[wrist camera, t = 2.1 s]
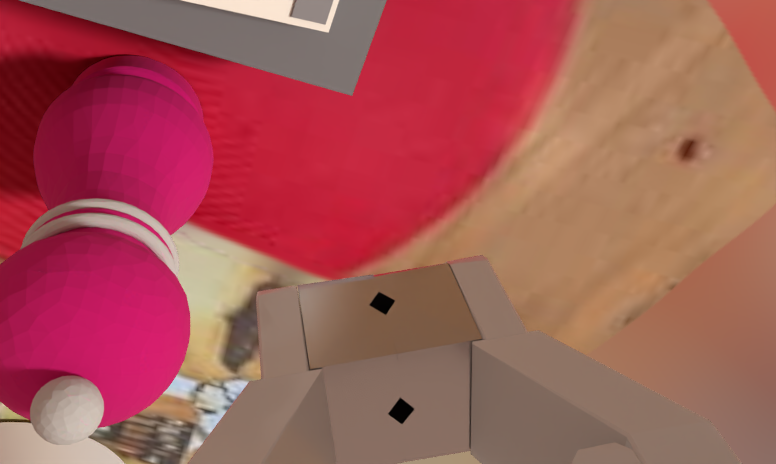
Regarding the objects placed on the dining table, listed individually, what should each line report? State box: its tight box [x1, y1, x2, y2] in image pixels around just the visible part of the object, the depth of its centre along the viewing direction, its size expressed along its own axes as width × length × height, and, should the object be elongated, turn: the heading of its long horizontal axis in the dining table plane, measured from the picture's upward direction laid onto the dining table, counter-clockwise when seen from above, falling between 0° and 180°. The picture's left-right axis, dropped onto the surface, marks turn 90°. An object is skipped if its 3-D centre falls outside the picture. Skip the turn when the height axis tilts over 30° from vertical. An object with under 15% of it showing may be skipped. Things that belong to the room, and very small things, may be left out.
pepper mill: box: [0, 55, 213, 445], centre depth 26 cm, size 7×7×20 cm
